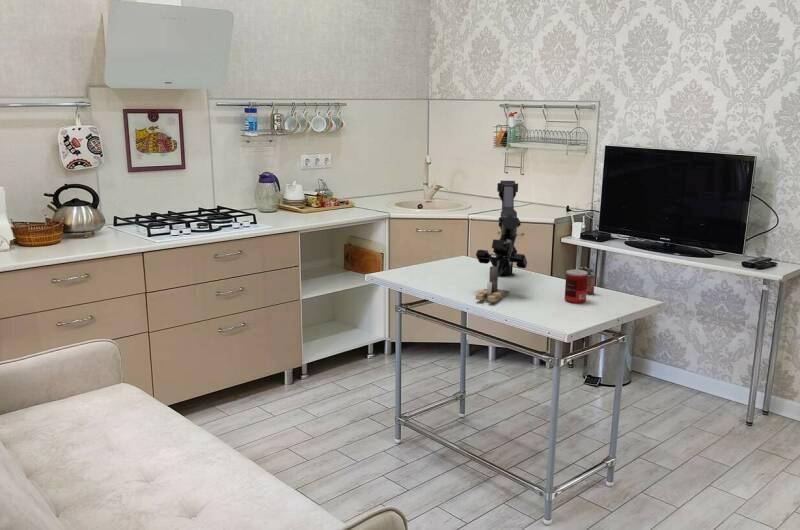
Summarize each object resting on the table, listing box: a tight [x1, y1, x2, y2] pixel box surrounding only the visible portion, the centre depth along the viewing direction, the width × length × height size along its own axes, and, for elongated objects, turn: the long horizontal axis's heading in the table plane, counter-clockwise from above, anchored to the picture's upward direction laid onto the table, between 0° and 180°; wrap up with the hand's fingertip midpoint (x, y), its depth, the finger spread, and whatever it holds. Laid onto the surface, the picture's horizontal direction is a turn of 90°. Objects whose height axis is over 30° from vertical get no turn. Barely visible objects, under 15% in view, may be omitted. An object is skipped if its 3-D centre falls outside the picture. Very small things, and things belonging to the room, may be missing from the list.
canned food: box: [564, 269, 589, 305], centre depth 259 cm, size 8×8×11 cm
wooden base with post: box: [475, 265, 503, 302], centre depth 258 cm, size 10×7×11 cm
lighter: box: [578, 266, 597, 296], centre depth 270 cm, size 8×3×10 cm, turn 47°
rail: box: [479, 282, 510, 304], centre depth 263 cm, size 16×6×7 cm, turn 153°
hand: (495, 277), depth 262 cm, fingers closed, pressing on wooden base with post
